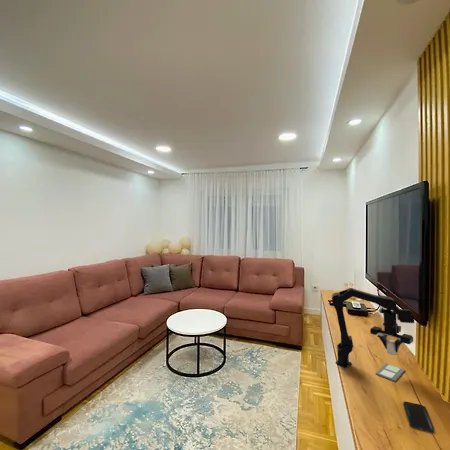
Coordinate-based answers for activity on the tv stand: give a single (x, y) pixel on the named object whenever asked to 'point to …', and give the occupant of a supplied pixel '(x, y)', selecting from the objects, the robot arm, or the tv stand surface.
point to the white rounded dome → (391, 347)
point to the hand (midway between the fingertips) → (391, 350)
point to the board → (390, 372)
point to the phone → (418, 417)
